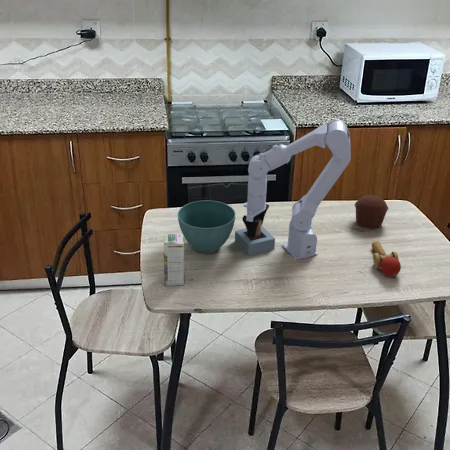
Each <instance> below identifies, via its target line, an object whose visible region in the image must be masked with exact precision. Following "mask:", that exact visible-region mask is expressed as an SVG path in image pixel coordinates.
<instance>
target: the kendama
mask: <svg viewBox="0 0 450 450" xmlns="http://www.w3.org/2000/svg"><path fill="white" fill-rule="evenodd" d="M371 248H372V249H373V251H375V253H373V256H372V261H373V265H374V268H376V269H380V271H381V273H382V274H384V276H386V277H392V278H393V277H395V276H397V275H398V274H399V273H400V272H401V270H402V266H401V262H400V260H399V254H398V252H397V251H396V250H395V251H392V252H390V254H386V251H385V249H384V247H383V246H382V244H381V242H380V241H378V240H374V241H373V242H372V243H371Z"/></svg>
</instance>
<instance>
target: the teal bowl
mask: <svg viewBox="0 0 450 450" xmlns="http://www.w3.org/2000/svg"><path fill="white" fill-rule="evenodd" d="M177 221H178V225H179V228H180V232H181V234H183V237H184V240H185V241H186V242H187V244H189V245H190V246H191V247H192V248H193V249H194V250H195V251H197V252H199V253H202V254H210V253H211V254H212V253H215V252H217V251H218V250H219V249H221V247H223V245H224V244H225V243H227V242H228V239H229V237H230V236H231V234H232V231H233V228H234V226H235V221H236V211H235V209H234V208H233V207H232V206H230V205H229V204H227V203H225V202H221V201H217V200H205V199H204V200H197V201H192V202H189V203H187V204H185V205H183V206H181V207H180V208H179V210H178V212H177Z"/></svg>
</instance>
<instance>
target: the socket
mask: <svg viewBox="0 0 450 450" xmlns="http://www.w3.org/2000/svg"><path fill="white" fill-rule="evenodd" d="M234 242H235V243H236V244H237V246H239V248H240V249H241V250H242V251H243V252H244V253H245V254H246V255H247V256H252V255H256V254H260V253H264V252H265V253H266V252H268V251H272V250H275V245H276V238H275V237H274V236H273V235H272V234H271V233H270V232H269V230H267V229H266V228H265V227H263V225H262V226H261V239H257V240H252V241H251V240H250V239H249V238H248V233H247V229H246V227H245V228H241V229H238V230H237V229H236V230H235V231H234Z"/></svg>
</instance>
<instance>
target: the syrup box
mask: <svg viewBox="0 0 450 450" xmlns="http://www.w3.org/2000/svg"><path fill="white" fill-rule="evenodd" d="M184 241H185V237H184V236H183V233H165V234H163V269H164V270H163V275H164V286H166V287H167V286H170V287H171V286H184V284H185V244H184V243H185V242H184Z"/></svg>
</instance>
